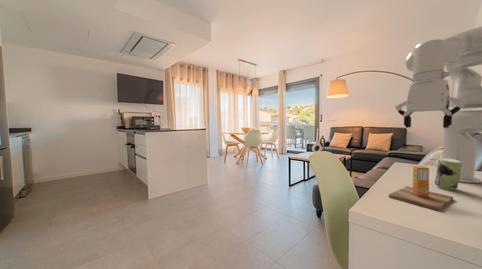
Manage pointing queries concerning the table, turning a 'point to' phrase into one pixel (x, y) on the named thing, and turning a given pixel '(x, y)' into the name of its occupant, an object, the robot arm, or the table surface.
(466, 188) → the table surface
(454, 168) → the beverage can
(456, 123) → the robot arm
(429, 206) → the walnut board
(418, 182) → the supplement box
